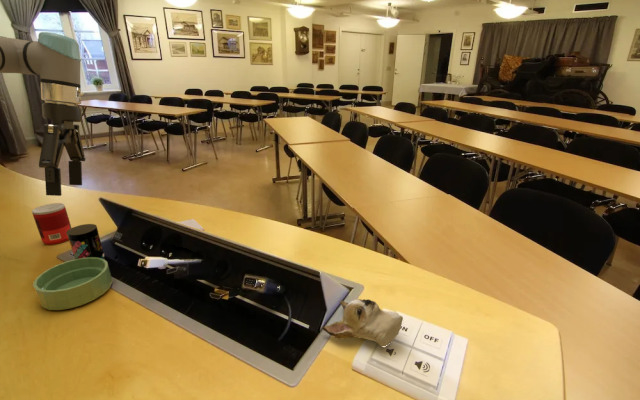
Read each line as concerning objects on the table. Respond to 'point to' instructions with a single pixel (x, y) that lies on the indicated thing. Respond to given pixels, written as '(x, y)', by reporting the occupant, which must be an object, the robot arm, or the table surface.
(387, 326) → the ceramic sculpture
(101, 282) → the bowl
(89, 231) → the supplement container
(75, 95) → the robot arm
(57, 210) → the canned food
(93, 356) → the table surface
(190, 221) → the charger
